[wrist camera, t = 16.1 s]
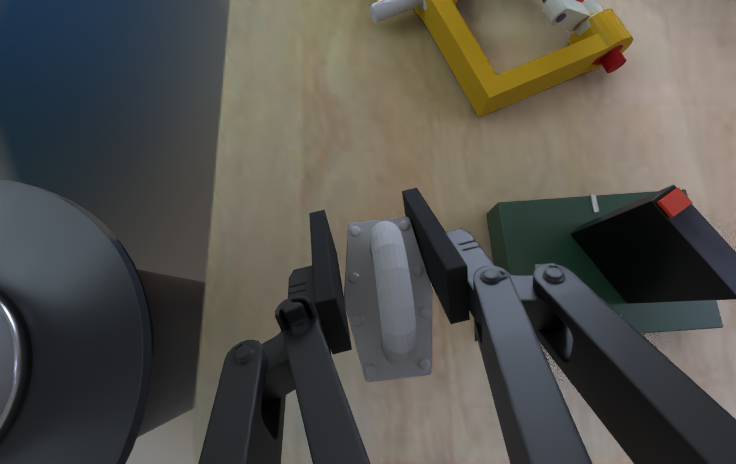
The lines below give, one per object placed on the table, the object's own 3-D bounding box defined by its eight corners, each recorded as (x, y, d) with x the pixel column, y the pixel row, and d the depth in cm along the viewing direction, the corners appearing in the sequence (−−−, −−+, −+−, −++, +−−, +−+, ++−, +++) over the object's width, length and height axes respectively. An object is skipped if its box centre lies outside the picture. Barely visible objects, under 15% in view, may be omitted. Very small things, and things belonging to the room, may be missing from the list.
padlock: (344, 243, 22) (320, 186, 12) (410, 235, 22) (441, 172, 12) (357, 368, 20) (342, 419, 11) (428, 359, 20) (480, 402, 11)
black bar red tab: (644, 291, 26) (768, 280, 18) (627, 304, 25) (743, 299, 17) (587, 222, 27) (677, 182, 19) (570, 234, 27) (654, 199, 19)
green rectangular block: (504, 340, 28) (520, 343, 25) (485, 212, 30) (498, 200, 27) (687, 327, 28) (726, 329, 25) (655, 200, 30) (687, 187, 27)
